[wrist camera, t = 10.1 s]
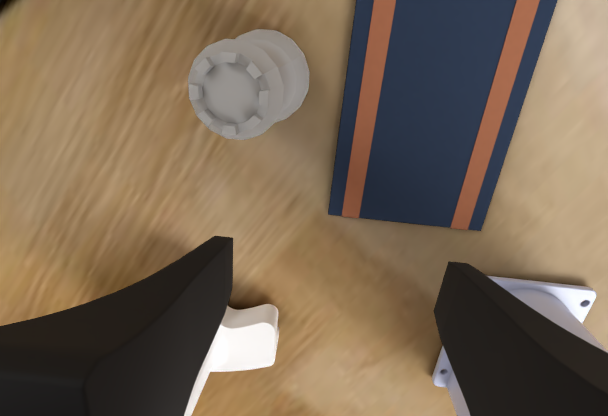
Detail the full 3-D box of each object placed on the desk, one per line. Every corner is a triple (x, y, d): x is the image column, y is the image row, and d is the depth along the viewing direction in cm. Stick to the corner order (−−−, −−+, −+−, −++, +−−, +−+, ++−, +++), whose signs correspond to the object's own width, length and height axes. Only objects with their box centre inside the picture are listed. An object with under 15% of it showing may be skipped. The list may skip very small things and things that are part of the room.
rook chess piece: (281, 10, 17) (249, -20, 10) (325, 94, 19) (325, 123, 11) (207, 59, 18) (128, 66, 11) (254, 135, 20) (212, 186, 12)
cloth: (479, 228, 21) (481, 231, 21) (328, 212, 21) (328, 214, 21) (581, -85, 15) (587, -88, 15) (370, -106, 15) (370, -108, 15)
